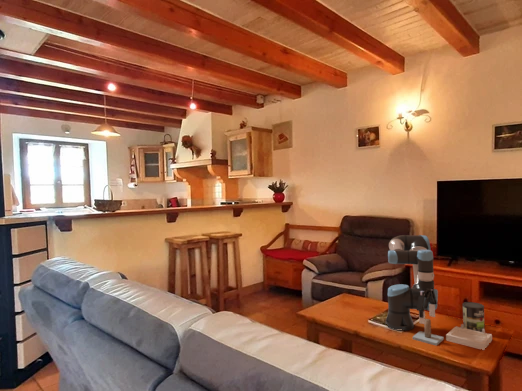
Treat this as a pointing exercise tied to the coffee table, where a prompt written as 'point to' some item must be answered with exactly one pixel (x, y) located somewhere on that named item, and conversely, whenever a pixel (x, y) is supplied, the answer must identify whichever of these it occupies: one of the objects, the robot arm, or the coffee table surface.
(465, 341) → the frame
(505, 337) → the coffee table surface
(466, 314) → the coffee can
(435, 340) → the grey panel with handle
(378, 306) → the coffee table surface
